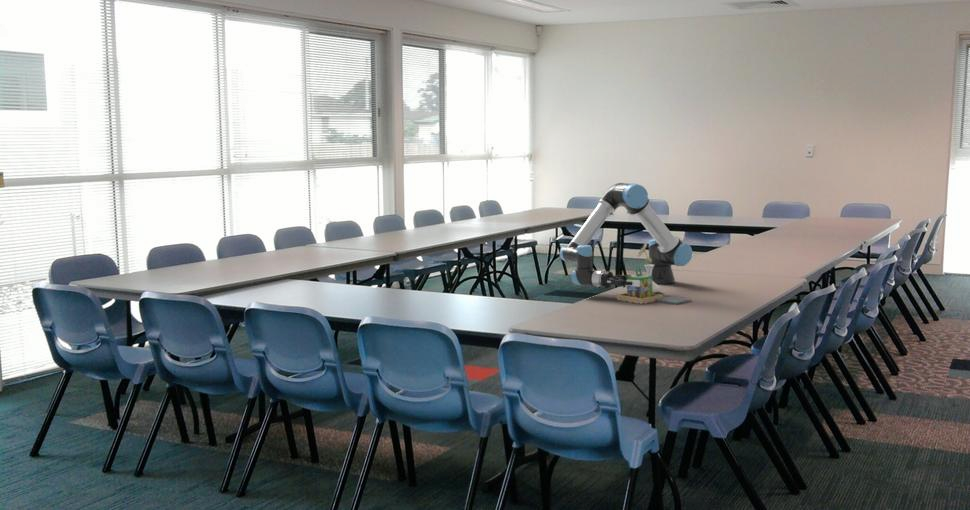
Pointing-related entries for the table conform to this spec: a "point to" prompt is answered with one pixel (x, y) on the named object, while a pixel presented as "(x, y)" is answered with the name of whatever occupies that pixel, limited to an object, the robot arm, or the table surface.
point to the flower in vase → (649, 270)
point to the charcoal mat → (673, 300)
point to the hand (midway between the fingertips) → (645, 281)
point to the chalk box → (644, 288)
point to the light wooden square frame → (638, 300)
